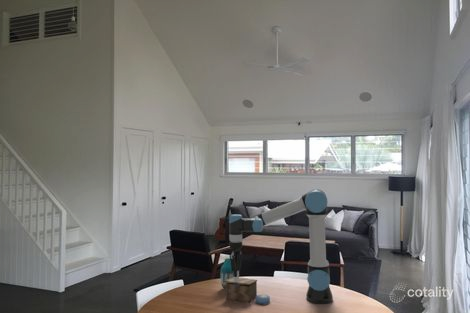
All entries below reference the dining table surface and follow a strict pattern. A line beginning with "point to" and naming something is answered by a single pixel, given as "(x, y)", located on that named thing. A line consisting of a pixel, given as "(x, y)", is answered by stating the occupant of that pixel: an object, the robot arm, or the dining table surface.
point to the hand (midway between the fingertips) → (236, 282)
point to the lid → (241, 281)
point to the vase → (226, 272)
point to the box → (241, 292)
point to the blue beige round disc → (262, 299)
